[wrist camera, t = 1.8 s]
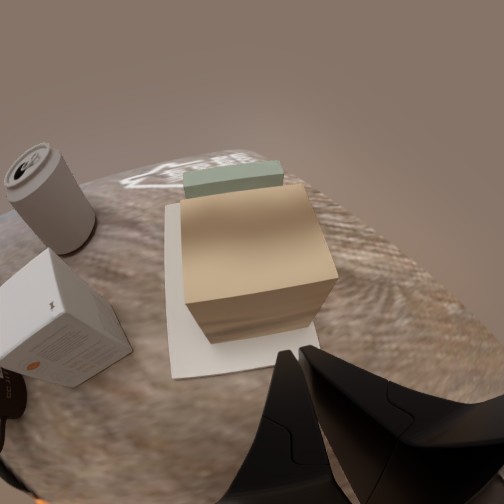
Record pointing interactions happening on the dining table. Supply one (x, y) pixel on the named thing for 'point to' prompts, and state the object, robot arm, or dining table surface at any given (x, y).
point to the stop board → (232, 178)
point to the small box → (57, 324)
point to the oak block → (254, 262)
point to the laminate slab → (193, 339)
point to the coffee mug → (11, 398)
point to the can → (49, 199)
